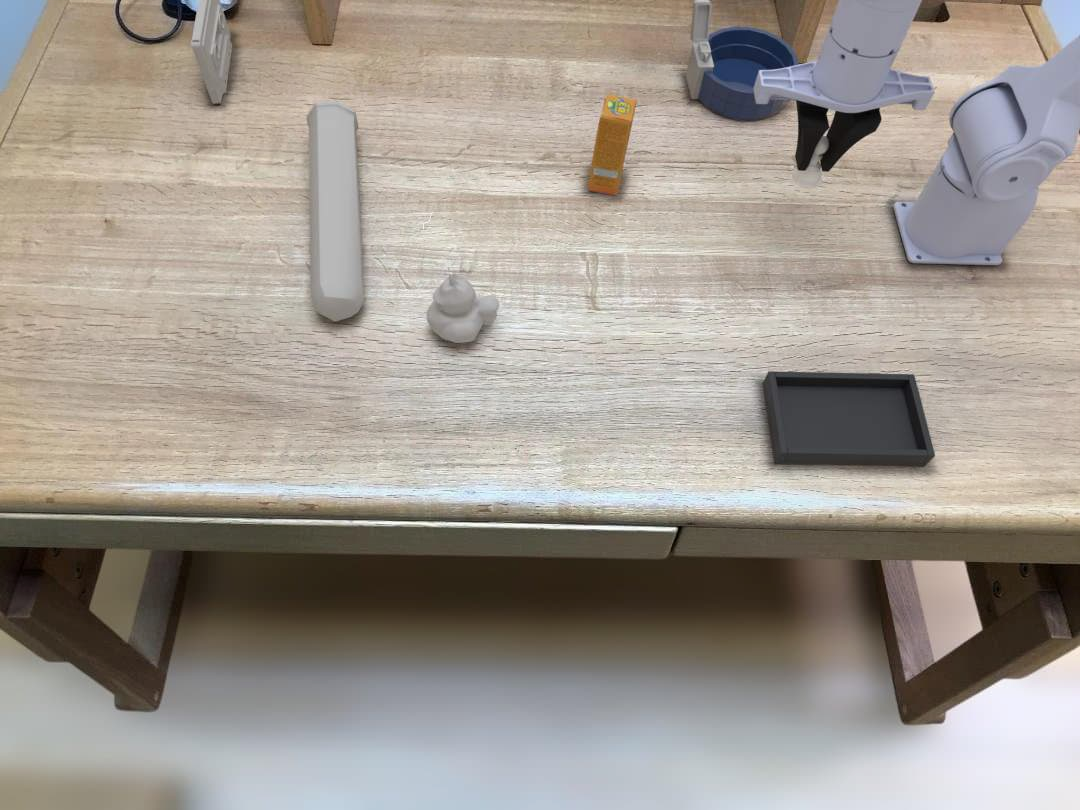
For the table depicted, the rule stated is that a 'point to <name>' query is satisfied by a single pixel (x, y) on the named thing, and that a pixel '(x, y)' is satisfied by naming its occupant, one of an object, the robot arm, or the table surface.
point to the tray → (846, 419)
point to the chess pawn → (812, 167)
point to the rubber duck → (460, 310)
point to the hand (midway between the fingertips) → (812, 163)
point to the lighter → (699, 47)
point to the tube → (334, 211)
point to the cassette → (212, 47)
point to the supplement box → (611, 144)
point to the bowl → (743, 71)
